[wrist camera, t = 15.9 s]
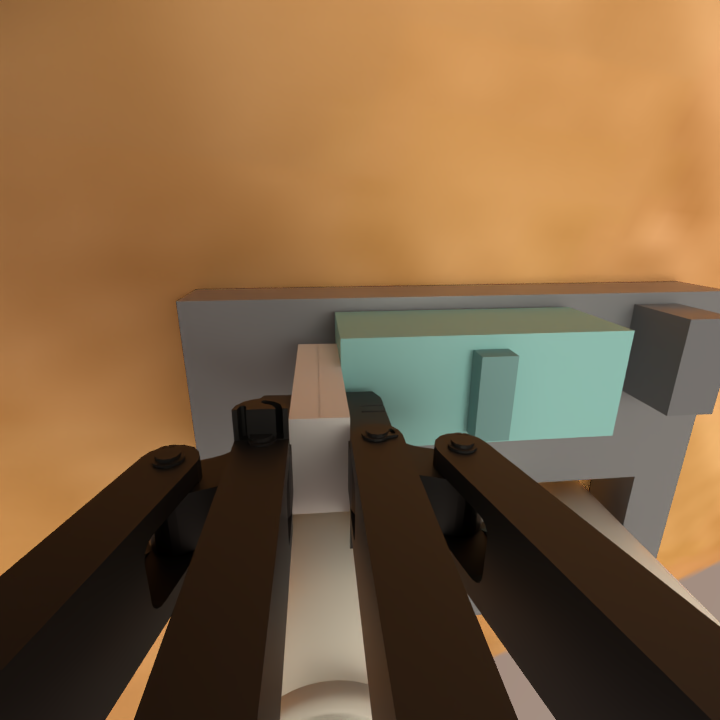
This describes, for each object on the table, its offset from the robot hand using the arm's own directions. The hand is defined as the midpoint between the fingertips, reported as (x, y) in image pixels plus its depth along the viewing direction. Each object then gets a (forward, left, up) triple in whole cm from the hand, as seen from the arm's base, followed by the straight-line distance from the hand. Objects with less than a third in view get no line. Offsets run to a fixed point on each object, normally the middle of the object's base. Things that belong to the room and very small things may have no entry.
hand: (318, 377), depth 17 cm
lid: (0, +6, -1) cm, 6 cm away
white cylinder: (+10, 0, -5) cm, 11 cm away
